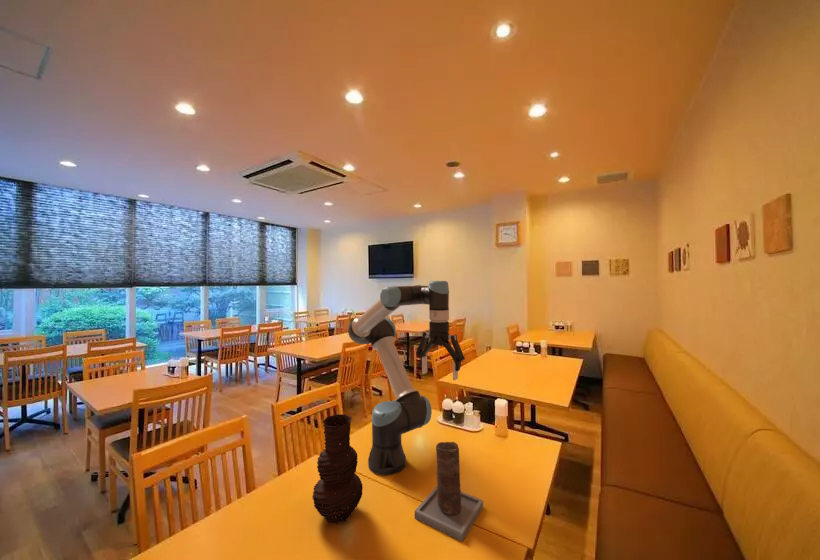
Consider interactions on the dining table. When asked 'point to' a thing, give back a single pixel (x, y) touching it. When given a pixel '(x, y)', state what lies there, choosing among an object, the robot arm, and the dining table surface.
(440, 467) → the brown cylinder
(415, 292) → the robot arm
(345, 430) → the vase
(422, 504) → the tray
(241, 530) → the dining table surface
